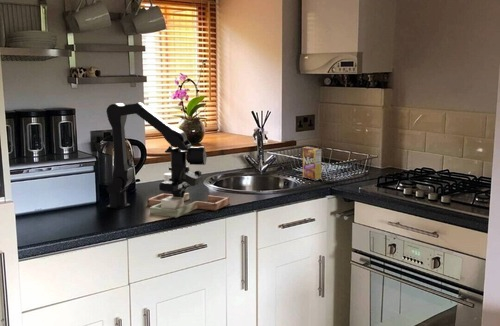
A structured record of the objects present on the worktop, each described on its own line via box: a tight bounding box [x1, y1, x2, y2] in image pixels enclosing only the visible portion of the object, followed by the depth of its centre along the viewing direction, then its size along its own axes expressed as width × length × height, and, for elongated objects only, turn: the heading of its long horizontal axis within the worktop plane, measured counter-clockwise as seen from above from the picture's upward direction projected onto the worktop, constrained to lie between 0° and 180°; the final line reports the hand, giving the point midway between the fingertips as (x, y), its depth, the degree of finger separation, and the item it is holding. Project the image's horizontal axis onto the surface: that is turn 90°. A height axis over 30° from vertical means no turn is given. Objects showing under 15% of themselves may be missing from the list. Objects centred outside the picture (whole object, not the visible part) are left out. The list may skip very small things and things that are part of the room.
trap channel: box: [146, 192, 230, 218], centre depth 216 cm, size 26×28×2 cm
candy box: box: [302, 146, 322, 179], centre depth 264 cm, size 9×4×15 cm, turn 36°
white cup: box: [163, 171, 172, 182], centre depth 247 cm, size 7×7×7 cm
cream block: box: [161, 196, 185, 210], centre depth 210 cm, size 6×6×5 cm
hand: (179, 204), depth 215 cm, fingers closed
